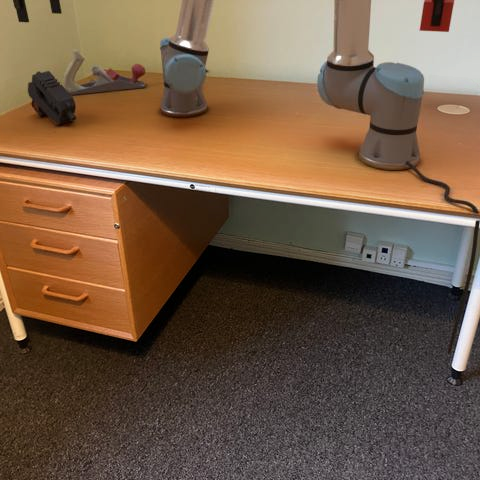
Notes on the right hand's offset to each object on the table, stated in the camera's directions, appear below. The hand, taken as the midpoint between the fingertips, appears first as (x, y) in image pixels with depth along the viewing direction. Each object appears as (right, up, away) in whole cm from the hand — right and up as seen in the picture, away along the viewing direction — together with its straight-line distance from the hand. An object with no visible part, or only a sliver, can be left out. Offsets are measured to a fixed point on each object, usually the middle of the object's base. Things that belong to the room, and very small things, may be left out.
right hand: (436, 23), depth 161 cm
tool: (-118, -28, +8) cm, 122 cm away
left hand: (-113, -6, -19) cm, 114 cm away
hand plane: (-110, -10, +37) cm, 116 cm away
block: (0, -1, +1) cm, 2 cm away
